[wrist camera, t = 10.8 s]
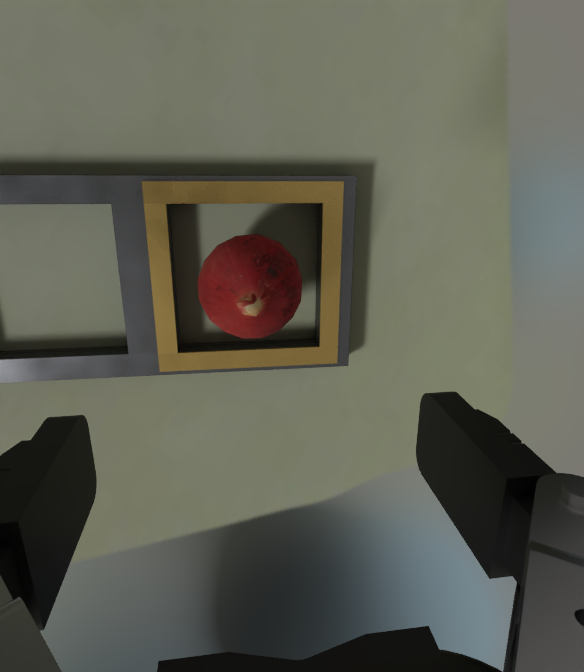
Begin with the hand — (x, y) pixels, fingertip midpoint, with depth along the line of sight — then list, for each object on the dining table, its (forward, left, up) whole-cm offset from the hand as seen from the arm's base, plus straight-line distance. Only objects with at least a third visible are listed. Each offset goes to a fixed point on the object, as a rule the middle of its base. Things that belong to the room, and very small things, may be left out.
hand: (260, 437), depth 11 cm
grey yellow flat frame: (0, -5, -20) cm, 21 cm away
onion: (0, +1, -20) cm, 20 cm away
